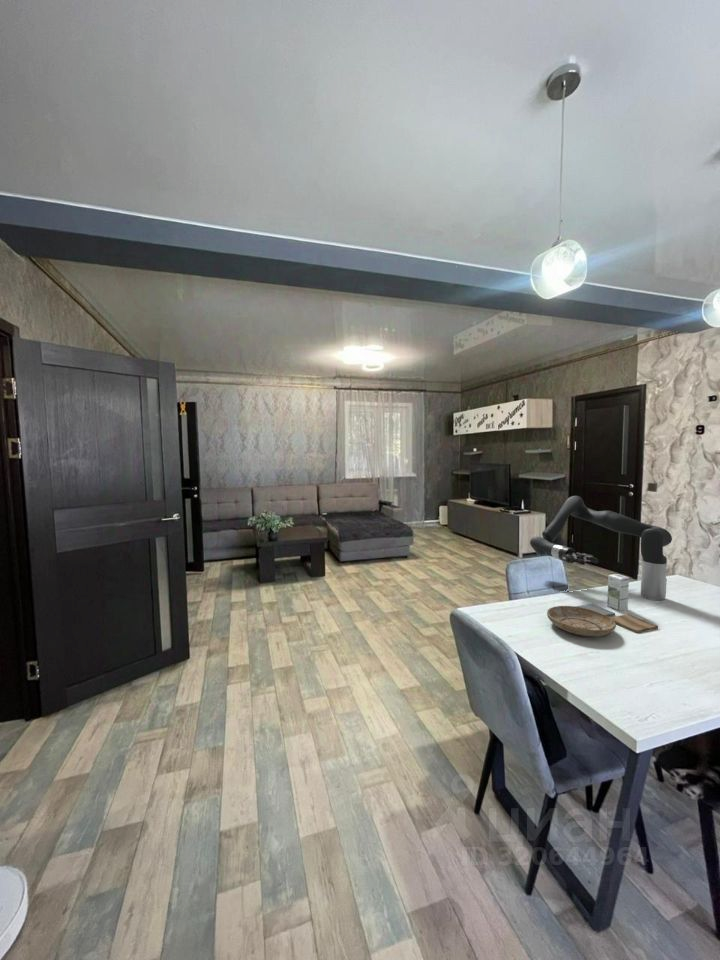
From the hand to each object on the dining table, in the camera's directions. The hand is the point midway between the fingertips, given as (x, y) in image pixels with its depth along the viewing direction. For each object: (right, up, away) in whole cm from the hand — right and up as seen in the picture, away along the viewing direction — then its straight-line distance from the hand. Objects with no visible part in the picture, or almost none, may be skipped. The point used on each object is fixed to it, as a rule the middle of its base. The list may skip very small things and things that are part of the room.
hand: (591, 562), depth 185 cm
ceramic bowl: (-23, -20, -32) cm, 44 cm away
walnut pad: (0, -19, -28) cm, 34 cm away
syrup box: (+5, -18, -12) cm, 22 cm away
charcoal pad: (-9, -18, -16) cm, 26 cm away
